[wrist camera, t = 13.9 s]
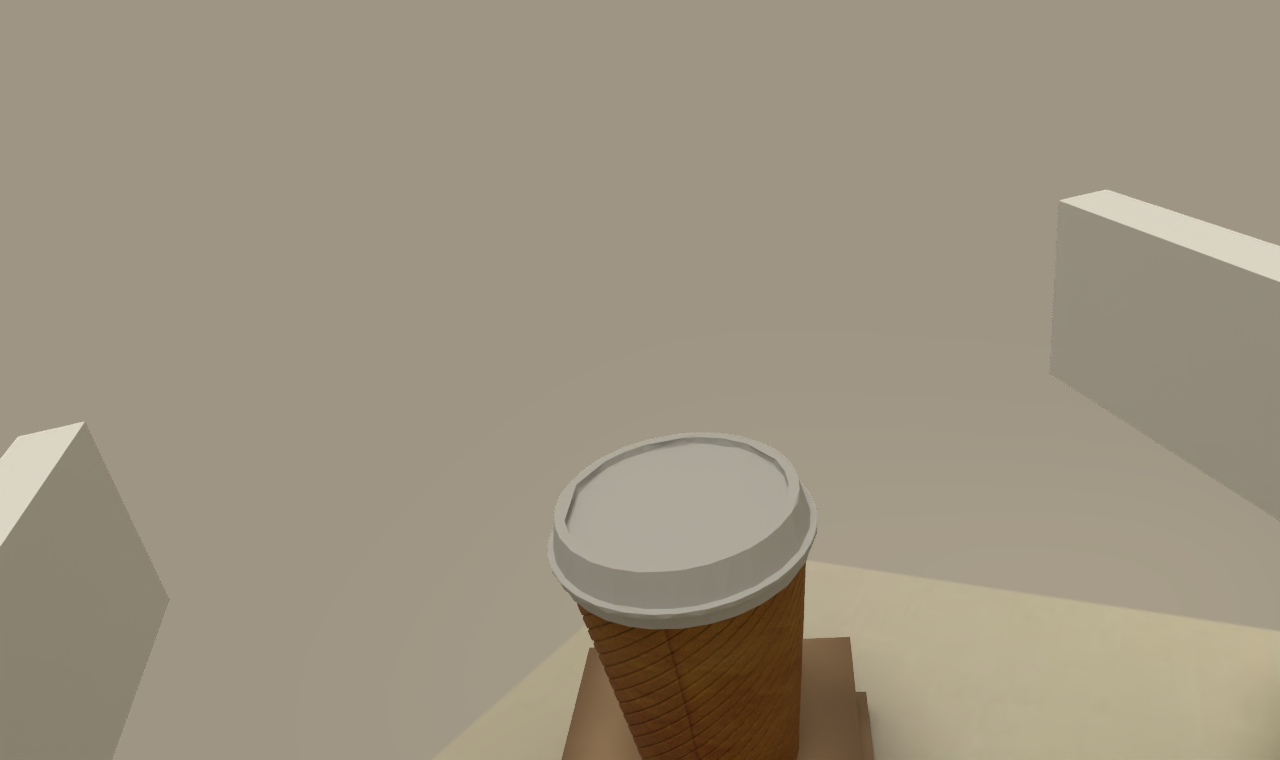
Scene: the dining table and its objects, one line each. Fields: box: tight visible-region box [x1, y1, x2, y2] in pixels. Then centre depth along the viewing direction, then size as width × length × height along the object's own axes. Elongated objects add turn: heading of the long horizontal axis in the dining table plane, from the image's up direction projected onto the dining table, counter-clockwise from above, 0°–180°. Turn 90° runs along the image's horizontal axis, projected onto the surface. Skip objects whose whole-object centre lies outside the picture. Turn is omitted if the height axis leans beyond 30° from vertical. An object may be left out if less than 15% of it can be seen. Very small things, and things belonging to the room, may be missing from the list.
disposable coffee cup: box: [547, 432, 817, 760], centre depth 35 cm, size 10×10×12 cm
